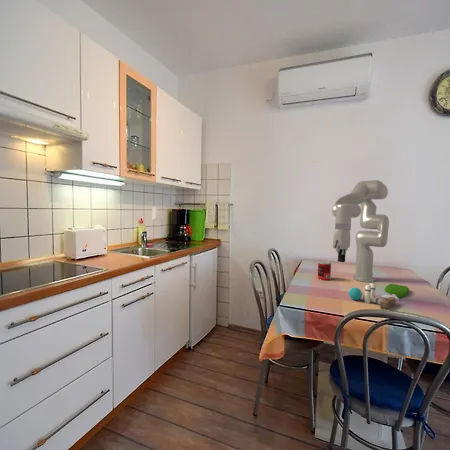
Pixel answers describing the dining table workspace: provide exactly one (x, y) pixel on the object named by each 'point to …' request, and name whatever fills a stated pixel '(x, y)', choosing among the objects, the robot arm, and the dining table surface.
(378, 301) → the front pin
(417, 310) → the dining table surface
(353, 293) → the ball
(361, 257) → the robot arm
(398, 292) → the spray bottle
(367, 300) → the back pin near
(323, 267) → the canned food
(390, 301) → the brown wooden bar
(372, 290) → the back pin far
